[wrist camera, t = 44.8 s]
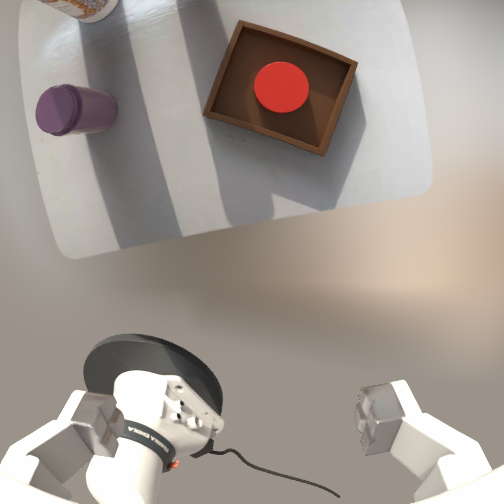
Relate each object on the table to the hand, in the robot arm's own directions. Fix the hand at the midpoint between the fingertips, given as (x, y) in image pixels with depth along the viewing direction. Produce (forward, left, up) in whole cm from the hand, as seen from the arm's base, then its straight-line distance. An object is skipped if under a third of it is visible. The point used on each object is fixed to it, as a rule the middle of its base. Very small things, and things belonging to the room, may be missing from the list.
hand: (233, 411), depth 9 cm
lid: (+8, -12, -29) cm, 32 cm away
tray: (+8, -12, -31) cm, 34 cm away
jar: (+22, +6, -31) cm, 39 cm away
